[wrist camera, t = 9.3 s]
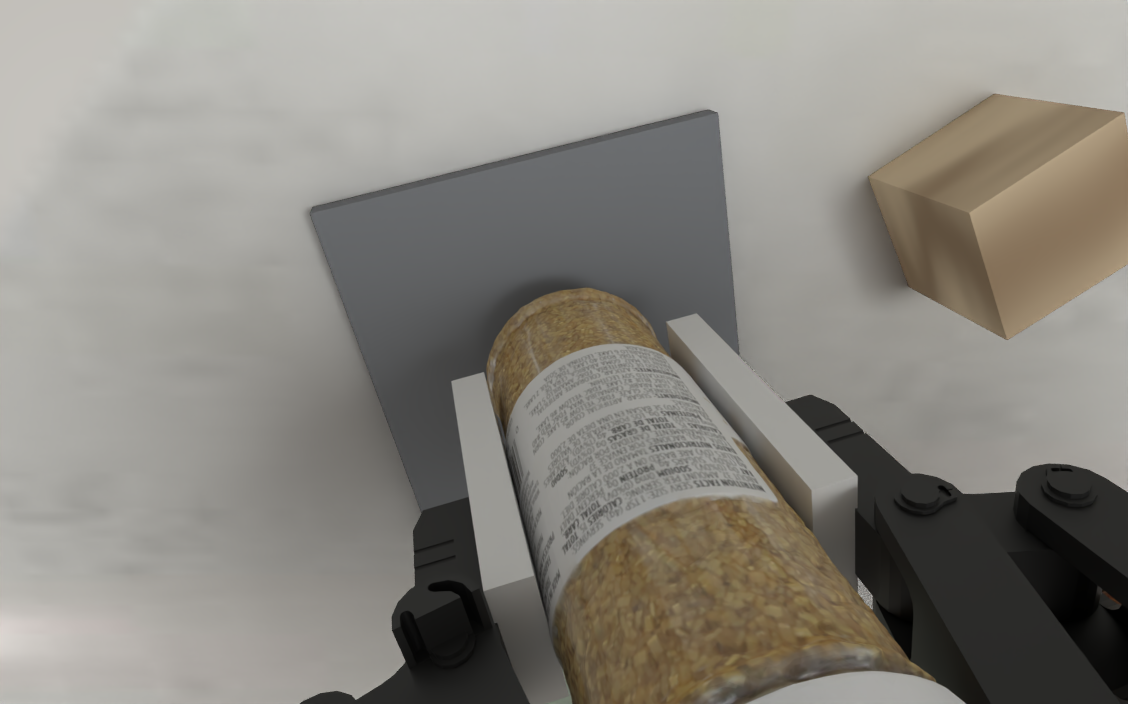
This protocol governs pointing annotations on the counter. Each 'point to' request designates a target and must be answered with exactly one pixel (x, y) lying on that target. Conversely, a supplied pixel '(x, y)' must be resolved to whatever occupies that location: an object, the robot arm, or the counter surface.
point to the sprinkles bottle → (670, 531)
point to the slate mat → (523, 265)
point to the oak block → (1010, 209)
